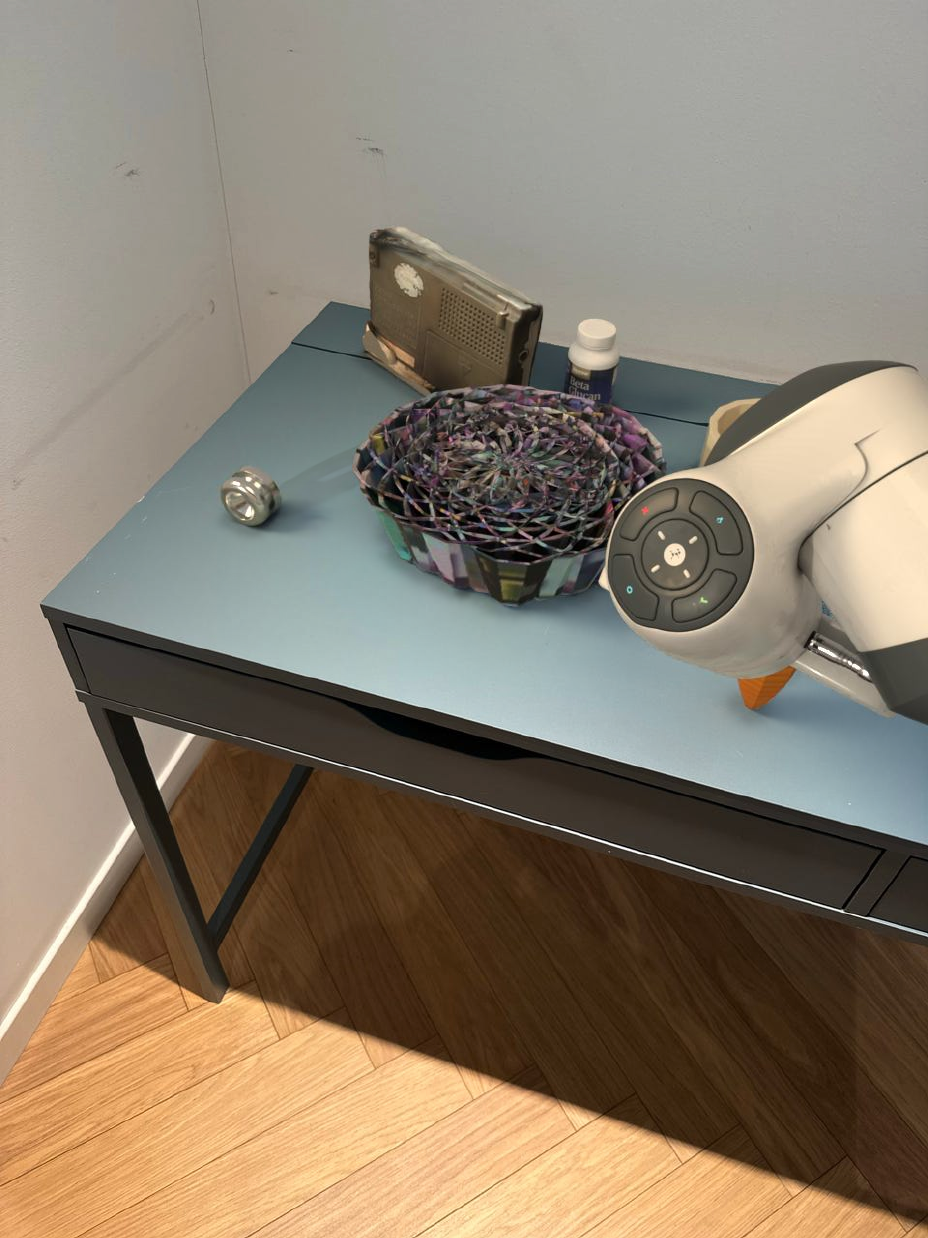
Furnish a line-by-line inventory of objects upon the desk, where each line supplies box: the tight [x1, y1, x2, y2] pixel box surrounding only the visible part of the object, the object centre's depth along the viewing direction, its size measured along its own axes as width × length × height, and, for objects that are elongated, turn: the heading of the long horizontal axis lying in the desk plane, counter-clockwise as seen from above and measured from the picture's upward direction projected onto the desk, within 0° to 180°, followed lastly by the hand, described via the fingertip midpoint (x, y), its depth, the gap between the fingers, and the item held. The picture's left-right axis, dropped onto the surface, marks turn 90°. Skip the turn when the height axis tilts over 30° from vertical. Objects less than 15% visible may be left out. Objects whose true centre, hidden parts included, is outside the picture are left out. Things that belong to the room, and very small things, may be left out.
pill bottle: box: [563, 318, 620, 406], centre depth 102 cm, size 5×5×10 cm
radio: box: [362, 225, 544, 397], centre depth 103 cm, size 23×9×15 cm, turn 38°
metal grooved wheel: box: [219, 465, 282, 526], centre depth 89 cm, size 5×3×5 cm, turn 64°
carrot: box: [737, 666, 798, 710], centre depth 71 cm, size 5×5×15 cm
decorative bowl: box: [351, 384, 668, 608], centre depth 87 cm, size 26×28×10 cm
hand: (775, 629), depth 69 cm, fingers open, 8 cm apart
